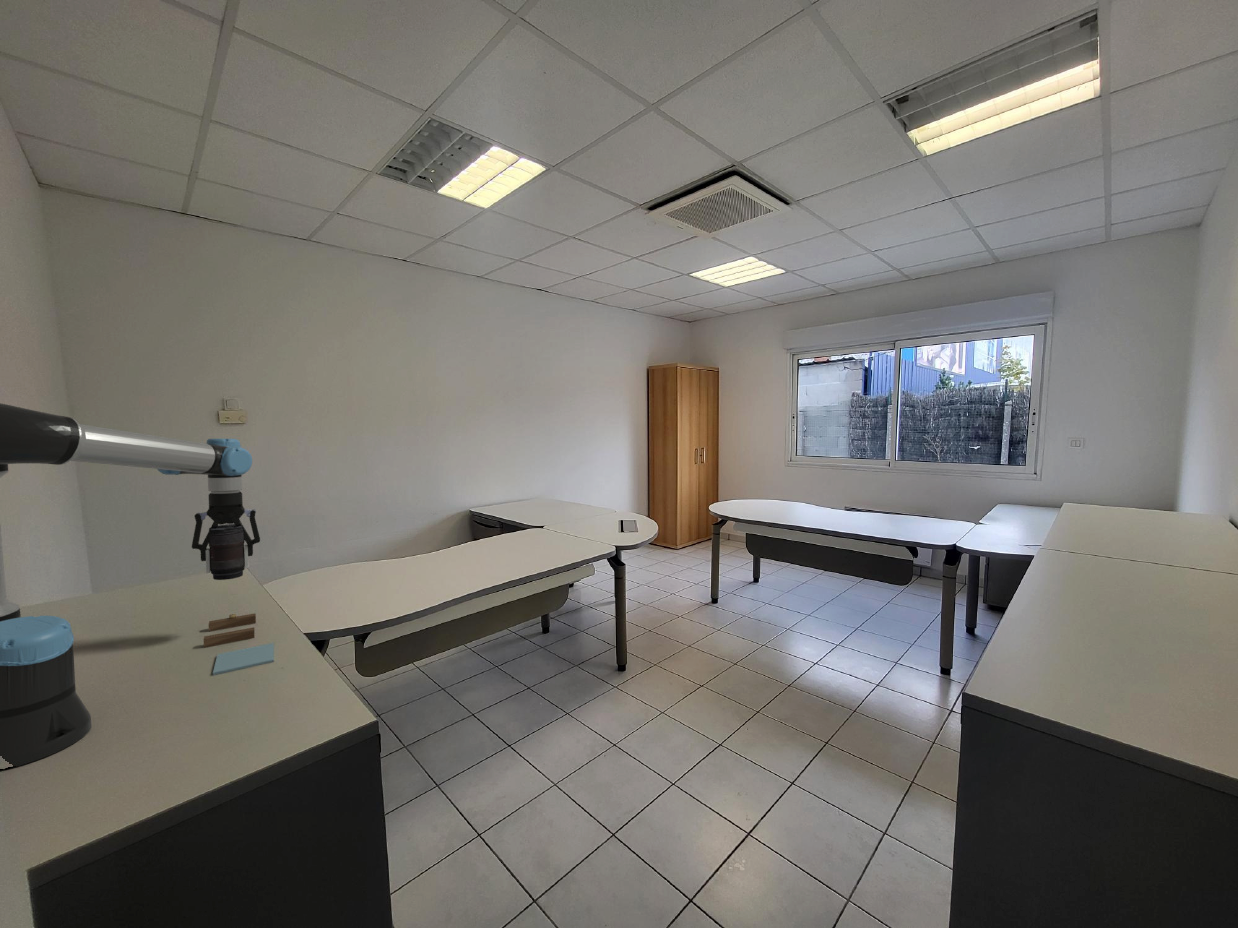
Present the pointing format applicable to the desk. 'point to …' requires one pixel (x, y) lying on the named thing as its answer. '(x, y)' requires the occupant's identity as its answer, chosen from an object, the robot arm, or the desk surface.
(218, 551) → the camera lens
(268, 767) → the desk surface
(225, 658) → the mat
